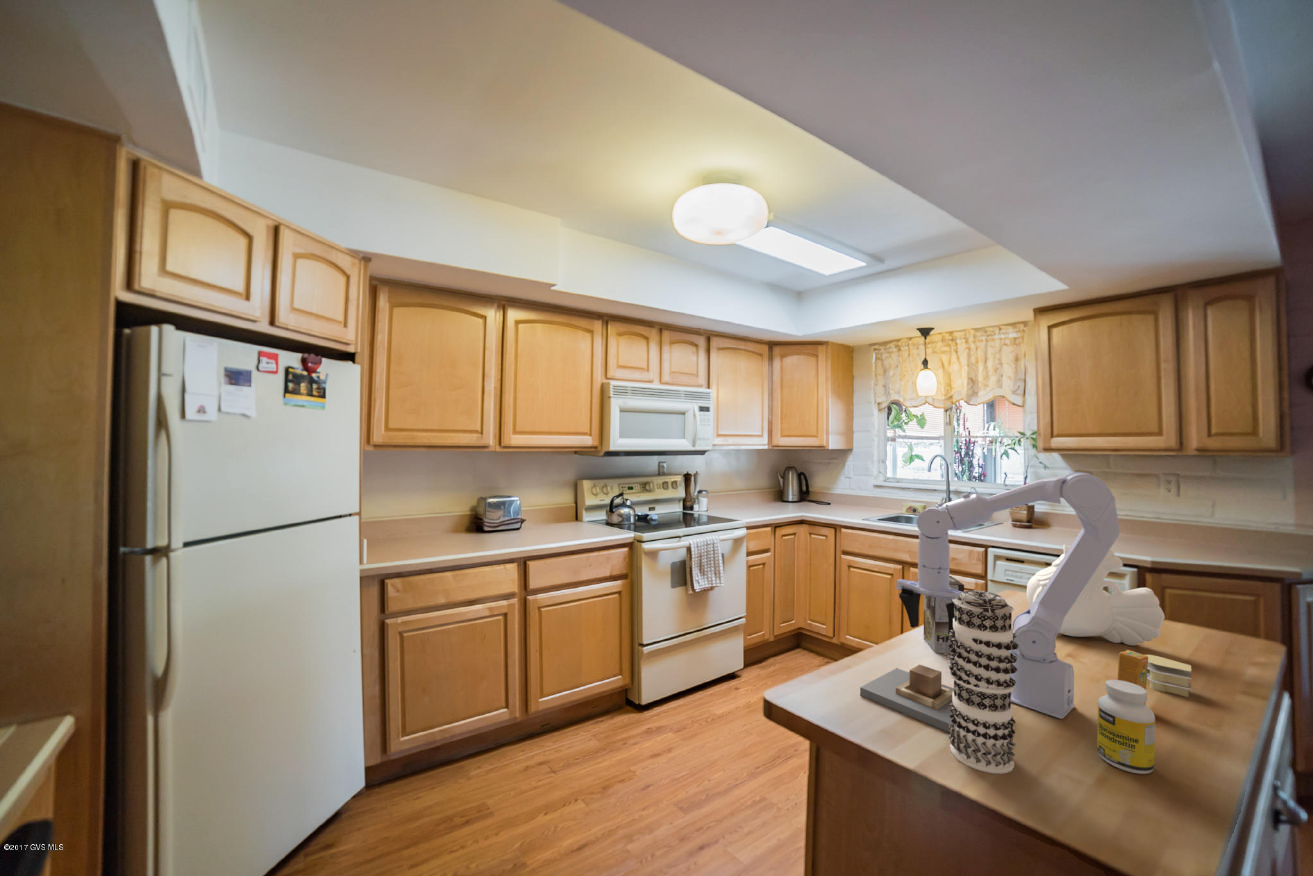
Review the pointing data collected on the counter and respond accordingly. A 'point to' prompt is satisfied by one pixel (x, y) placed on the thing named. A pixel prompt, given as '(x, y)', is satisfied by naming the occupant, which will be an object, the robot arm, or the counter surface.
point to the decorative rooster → (1106, 606)
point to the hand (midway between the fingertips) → (932, 631)
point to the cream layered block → (1168, 675)
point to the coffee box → (938, 619)
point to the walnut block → (925, 681)
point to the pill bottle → (1126, 728)
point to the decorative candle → (982, 682)
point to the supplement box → (1133, 668)
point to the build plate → (910, 699)
